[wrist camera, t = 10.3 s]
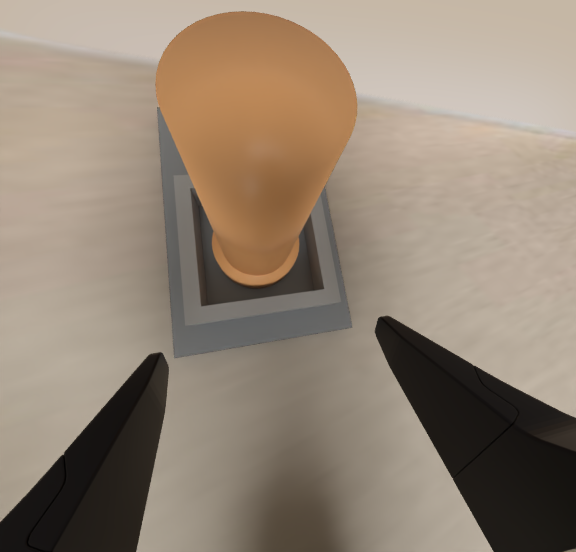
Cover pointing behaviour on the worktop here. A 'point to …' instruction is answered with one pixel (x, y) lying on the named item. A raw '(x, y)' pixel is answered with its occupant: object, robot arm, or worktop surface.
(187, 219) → the housing
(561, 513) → the robot arm
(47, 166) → the worktop surface
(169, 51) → the orange knob handle
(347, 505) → the worktop surface
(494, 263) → the worktop surface
